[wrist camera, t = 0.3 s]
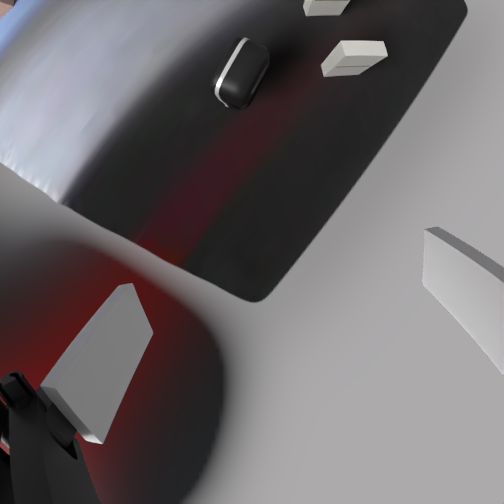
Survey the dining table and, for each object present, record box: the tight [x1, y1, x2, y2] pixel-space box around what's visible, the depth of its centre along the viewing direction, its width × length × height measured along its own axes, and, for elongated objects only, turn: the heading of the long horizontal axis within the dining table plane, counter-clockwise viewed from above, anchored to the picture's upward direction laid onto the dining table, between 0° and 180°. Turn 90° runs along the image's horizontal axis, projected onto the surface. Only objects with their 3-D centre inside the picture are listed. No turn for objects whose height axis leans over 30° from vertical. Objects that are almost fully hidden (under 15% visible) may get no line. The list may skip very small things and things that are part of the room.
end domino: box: [321, 41, 388, 77], centre depth 26 cm, size 2×5×10 cm, turn 102°
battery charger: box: [210, 37, 270, 110], centre depth 27 cm, size 7×4×11 cm, turn 154°
